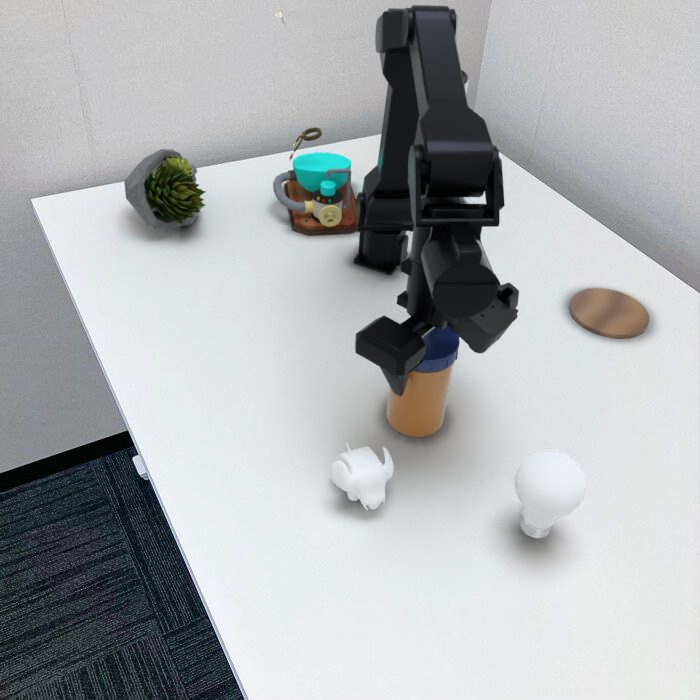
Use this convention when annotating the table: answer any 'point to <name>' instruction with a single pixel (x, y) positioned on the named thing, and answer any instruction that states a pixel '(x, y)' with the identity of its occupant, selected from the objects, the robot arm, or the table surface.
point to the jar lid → (439, 350)
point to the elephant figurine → (363, 475)
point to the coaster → (609, 313)
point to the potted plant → (164, 190)
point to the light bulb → (548, 489)
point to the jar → (420, 403)
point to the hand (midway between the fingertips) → (422, 373)
